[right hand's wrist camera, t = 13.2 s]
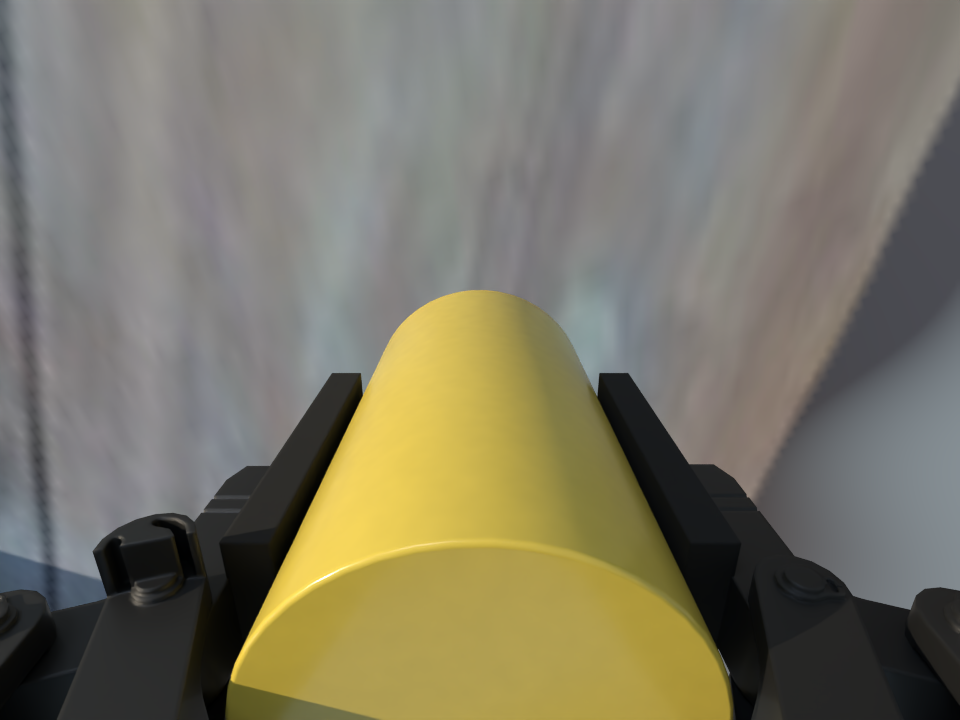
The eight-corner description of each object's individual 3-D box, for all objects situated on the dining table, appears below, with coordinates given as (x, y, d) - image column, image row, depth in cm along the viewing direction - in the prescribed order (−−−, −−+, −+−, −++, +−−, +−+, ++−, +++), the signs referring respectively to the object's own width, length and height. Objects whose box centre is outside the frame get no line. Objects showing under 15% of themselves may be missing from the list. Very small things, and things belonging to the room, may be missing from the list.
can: (358, 445, 17) (194, 845, 7) (407, 261, 15) (266, 476, 5) (540, 493, 18) (616, 920, 8) (611, 324, 16) (837, 621, 6)
